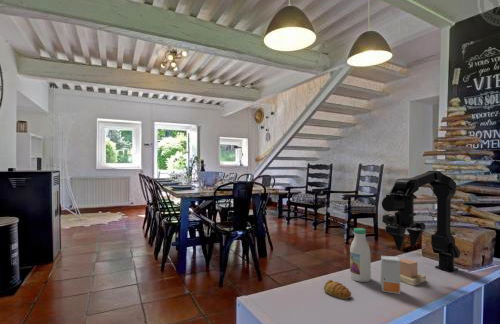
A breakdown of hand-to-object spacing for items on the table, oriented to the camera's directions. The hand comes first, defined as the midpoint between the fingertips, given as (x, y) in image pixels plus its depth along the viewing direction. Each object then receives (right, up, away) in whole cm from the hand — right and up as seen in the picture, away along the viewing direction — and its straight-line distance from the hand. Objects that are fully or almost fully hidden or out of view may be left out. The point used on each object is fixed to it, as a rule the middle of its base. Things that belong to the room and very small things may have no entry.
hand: (405, 248), depth 112 cm
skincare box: (-12, -12, -11) cm, 21 cm away
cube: (0, -10, -1) cm, 10 cm away
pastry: (-32, -12, -13) cm, 37 cm away
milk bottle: (-19, -12, 0) cm, 22 cm away
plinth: (0, -12, -1) cm, 12 cm away
